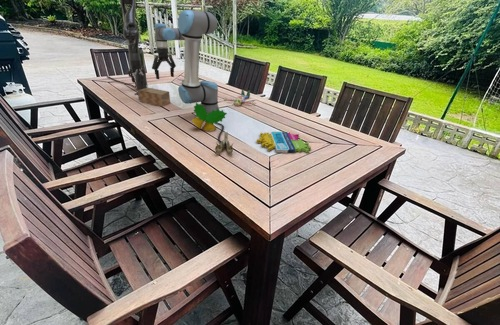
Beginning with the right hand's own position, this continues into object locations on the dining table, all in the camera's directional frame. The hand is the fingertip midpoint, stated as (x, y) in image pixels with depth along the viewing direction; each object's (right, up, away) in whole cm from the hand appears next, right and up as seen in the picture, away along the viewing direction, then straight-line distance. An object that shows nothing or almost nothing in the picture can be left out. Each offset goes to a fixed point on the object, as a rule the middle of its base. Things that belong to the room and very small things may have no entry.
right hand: (165, 77), depth 199 cm
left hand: (-22, -2, +3) cm, 22 cm away
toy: (+57, -13, +22) cm, 63 cm away
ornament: (+39, -43, -34) cm, 67 cm away
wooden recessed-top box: (-9, -18, +5) cm, 21 cm away
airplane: (+8, +11, +58) cm, 60 cm away
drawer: (-14, -15, +7) cm, 22 cm away
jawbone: (+51, -59, -60) cm, 98 cm away
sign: (+83, -53, -46) cm, 109 cm away
